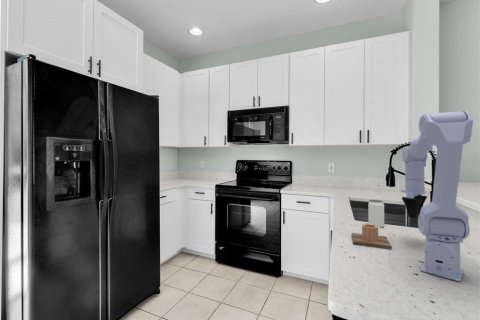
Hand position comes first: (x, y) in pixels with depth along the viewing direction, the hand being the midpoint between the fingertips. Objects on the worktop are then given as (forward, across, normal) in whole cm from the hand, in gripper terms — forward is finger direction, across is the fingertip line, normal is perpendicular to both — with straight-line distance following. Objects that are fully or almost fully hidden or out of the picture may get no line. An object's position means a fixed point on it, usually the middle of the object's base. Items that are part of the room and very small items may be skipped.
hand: (414, 215), depth 85 cm
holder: (+10, +10, -12) cm, 19 cm away
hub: (+9, +10, -12) cm, 18 cm away
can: (+11, -16, -18) cm, 26 cm away
